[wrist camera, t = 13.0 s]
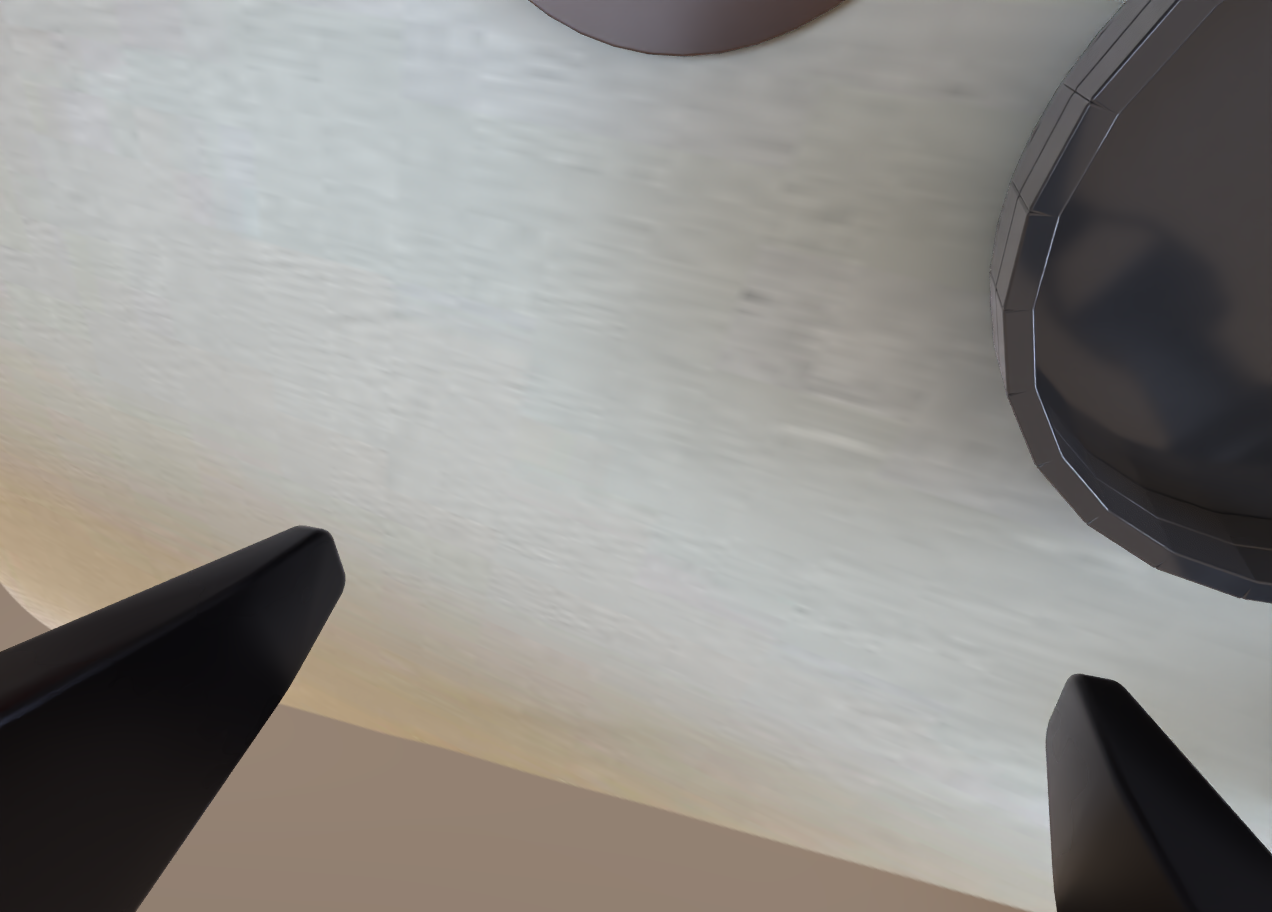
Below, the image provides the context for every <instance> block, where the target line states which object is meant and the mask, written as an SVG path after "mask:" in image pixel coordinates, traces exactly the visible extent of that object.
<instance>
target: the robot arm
mask: <svg viewBox="0 0 1272 912" xmlns="http://www.w3.org/2000/svg"><path fill="white" fill-rule="evenodd" d="M344 586H345V572H344V569H343V566H342V563H341V560H340V557H339V554H338V551H337V548H336V545H335V542H334V539H333V537H332V535H331V534H330V533H329V532H328V531H327V530H324V529H320V528H315V527H310V526H295V527H293V528H290V529H288V530H286V531H283V532H281V533H279V534H276V535H274V536H272V537H269V538H267V539H264V540H262V541H260V542H257V543H255V544H253V545H250V546H248V547H246V548H243V549H241V550H239V551H236V552H234V553H232V554H229V555H227V556H225V557H222V558H220V559H217V560H215V561H213V562H210V563H208V564H206V565H203V566H201V567H199V568H196V569H194V570H192V571H189V572H187V573H185V574H182V575H180V576H178V577H175V578H173V579H170V580H168V581H166V582H163V583H161V584H159V585H156V586H154V587H152V588H149V589H147V590H145V591H142V592H140V593H138V594H135V595H133V596H130V597H128V598H126V599H123V600H121V601H119V602H116V603H114V604H112V605H109V606H107V607H105V608H102V609H100V610H98V611H95V612H93V613H91V614H88V615H86V616H83V617H81V618H79V619H76V620H74V621H72V622H69V623H67V624H65V625H62V626H60V627H58V628H55V629H53V630H51V631H48V632H46V633H44V634H41V635H39V636H36V637H34V638H32V639H29V640H27V641H25V642H22V643H20V644H18V645H15V646H13V647H11V648H8V649H6V650H4V651H1V652H0V912H136V911H137V909H138V908H139V906H140V905H141V903H142V902H143V900H144V899H145V897H146V896H147V895H148V893H149V892H150V890H151V889H152V887H153V886H154V884H155V883H156V881H157V880H158V879H159V877H160V876H161V874H162V873H163V871H164V870H165V868H166V867H167V865H168V864H169V863H170V861H171V860H172V858H173V857H174V855H175V854H176V852H177V851H178V849H179V848H180V847H181V845H182V844H183V842H184V841H185V839H186V838H187V836H188V835H189V833H190V832H191V830H192V829H193V828H194V826H195V825H196V823H197V822H198V820H199V819H200V817H201V816H202V815H203V813H204V812H205V810H206V809H207V807H208V806H209V804H210V803H211V801H212V800H213V799H214V797H215V796H216V794H217V793H218V791H219V790H220V788H221V787H222V785H223V784H224V782H225V781H226V780H227V778H228V777H229V775H230V774H231V772H232V771H233V769H234V768H235V766H236V765H237V763H238V762H239V761H240V759H241V758H242V756H243V755H244V753H245V752H246V750H247V749H248V748H249V746H250V745H251V743H252V742H253V740H254V739H255V737H256V736H257V734H258V733H259V732H260V730H261V729H262V727H263V726H264V724H265V723H266V721H267V720H268V718H269V717H270V716H271V714H272V713H273V711H274V709H275V708H276V707H277V705H278V704H279V702H280V701H281V699H282V698H283V696H284V695H285V693H286V692H287V690H288V688H289V687H290V685H291V683H292V682H293V680H294V678H295V677H296V675H297V673H298V671H299V670H300V668H301V666H302V664H303V662H304V661H305V659H306V657H307V655H308V653H309V652H310V650H311V648H312V646H313V644H314V643H315V641H316V639H317V637H318V635H319V634H320V632H321V630H322V628H323V626H324V625H325V623H326V621H327V619H328V617H329V616H330V614H331V612H332V610H333V608H334V607H335V605H336V603H337V601H338V599H339V598H340V596H341V594H342V592H343V589H344ZM1046 761H1047V779H1048V797H1049V815H1050V834H1051V852H1052V869H1053V882H1054V893H1055V900H1056V907H1057V912H1272V854H1271V853H1270V851H1269V850H1268V849H1267V848H1266V847H1265V846H1264V845H1263V844H1262V842H1261V841H1260V840H1259V839H1258V838H1257V837H1256V836H1255V835H1254V833H1253V832H1252V831H1251V830H1250V829H1249V828H1248V827H1247V825H1246V824H1245V823H1244V822H1243V821H1242V820H1241V819H1240V818H1239V816H1238V815H1237V814H1236V813H1235V812H1234V811H1233V810H1232V809H1231V807H1230V806H1229V805H1228V804H1227V803H1226V802H1225V801H1224V799H1223V798H1222V797H1221V796H1220V795H1219V794H1218V793H1217V792H1216V790H1215V789H1214V788H1213V787H1212V786H1211V785H1210V784H1209V783H1208V781H1207V780H1206V779H1205V778H1204V777H1203V776H1202V775H1201V773H1200V772H1199V771H1198V770H1197V769H1196V768H1195V767H1194V766H1193V764H1192V763H1191V762H1190V761H1189V760H1188V759H1187V758H1186V757H1185V755H1184V754H1183V753H1182V752H1181V751H1180V750H1179V749H1178V747H1177V746H1176V745H1175V744H1174V743H1173V742H1172V741H1171V740H1170V738H1169V737H1168V736H1167V735H1166V734H1165V733H1164V732H1163V731H1162V729H1161V728H1160V727H1159V726H1158V725H1157V724H1156V723H1155V721H1154V720H1153V719H1152V718H1151V717H1150V716H1149V715H1148V714H1147V712H1146V711H1145V710H1144V709H1143V708H1142V707H1141V706H1140V705H1139V703H1138V702H1137V701H1136V700H1135V699H1134V698H1133V697H1132V696H1131V694H1130V693H1129V692H1128V691H1127V690H1126V689H1125V688H1124V687H1123V686H1122V685H1121V684H1119V683H1118V682H1116V681H1114V680H1110V679H1105V678H1100V677H1095V676H1089V675H1084V674H1074V675H1072V676H1071V677H1069V679H1068V680H1067V682H1066V684H1065V686H1064V688H1063V690H1062V693H1061V695H1060V697H1059V700H1058V702H1057V704H1056V707H1055V709H1054V711H1053V714H1052V716H1051V718H1050V720H1049V723H1048V727H1047V732H1046Z"/></svg>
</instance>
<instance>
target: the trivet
mask: <svg viewBox="0 0 1272 912" xmlns="http://www.w3.org/2000/svg"><path fill="white" fill-rule="evenodd" d="M529 1H530V2H531V3H533V4H534V5H535V6H537V7H538V8H539V9H540V10H542V11H543V12H544V13H546V14H547V15H548V16H550V17H552V18H554V19H555V20H557V21H559V22H561V23H562V24H564V25H566V26H568V27H570V28H571V29H573V30H575V31H577V32H578V33H580V34H583V35H585V36H588V37H590V38H593V39H596V40H598V41H601V42H603V43H606V44H609V45H611V46H614V47H618V48H623V49H627V50H632V51H636V52H641V53H645V54H653V55H669V56H695V55H706V54H717V53H724V52H728V51H732V50H736V49H740V48H744V47H749V46H753V45H757V44H760V43H763V42H765V41H768V40H770V39H773V38H775V37H778V36H780V35H783V34H785V33H788V32H790V31H793V30H795V29H797V28H799V27H801V26H803V25H804V24H806V23H808V22H810V21H812V20H813V19H815V18H817V17H819V16H820V15H822V14H824V13H826V12H828V11H829V10H831V9H833V8H835V7H836V6H838V5H839V4H840V3H842V2H843V1H844V0H529Z"/></svg>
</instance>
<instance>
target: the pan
mask: <svg viewBox="0 0 1272 912" xmlns="http://www.w3.org/2000/svg"><path fill="white" fill-rule="evenodd" d="M990 269H991V270H990V306H991V313H992V323H993V340H994V347H995V352H996V355H997V359H998V363H999V367H1000V371H1001V375H1002V379H1003V382H1004V386H1005V390H1006V394H1007V397H1008V400H1009V402H1010V405H1011V407H1012V410H1013V412H1014V415H1015V417H1016V420H1017V422H1018V424H1019V427H1020V429H1021V432H1022V434H1023V437H1024V439H1025V442H1026V444H1027V447H1028V449H1029V452H1030V454H1031V456H1032V459H1033V461H1034V464H1035V465H1036V466H1037V468H1038V469H1039V470H1040V472H1041V473H1042V474H1043V475H1044V476H1045V477H1046V479H1047V480H1048V481H1049V482H1050V483H1051V484H1052V485H1053V487H1054V488H1055V489H1056V490H1057V491H1058V492H1059V494H1060V495H1061V496H1062V497H1063V498H1064V499H1065V500H1066V502H1067V503H1068V504H1069V505H1070V506H1071V507H1072V509H1073V510H1074V511H1075V512H1076V513H1077V514H1078V515H1079V517H1080V518H1081V519H1082V520H1083V521H1084V522H1085V523H1086V524H1087V525H1088V526H1090V527H1091V528H1093V529H1095V530H1096V531H1098V532H1099V533H1101V534H1102V535H1104V536H1105V537H1107V538H1109V539H1110V540H1112V541H1113V542H1115V543H1116V544H1118V545H1119V546H1121V547H1123V548H1124V549H1126V550H1127V551H1129V552H1130V553H1132V554H1133V555H1135V556H1137V557H1138V558H1140V559H1141V560H1143V561H1144V562H1146V563H1147V564H1149V565H1150V566H1152V567H1154V568H1156V569H1158V570H1161V571H1164V572H1167V573H1170V574H1172V575H1175V576H1178V577H1181V578H1184V579H1186V580H1189V581H1192V582H1195V583H1198V584H1201V585H1203V586H1206V587H1209V588H1212V589H1215V590H1218V591H1220V592H1223V593H1226V594H1229V595H1232V596H1235V597H1237V598H1243V599H1246V600H1252V601H1259V602H1265V603H1272V0H1128V1H1127V2H1126V3H1125V4H1124V5H1123V6H1122V7H1121V8H1120V9H1119V10H1118V12H1117V13H1116V14H1115V15H1114V16H1113V17H1112V18H1111V19H1110V20H1109V21H1108V23H1107V24H1106V25H1105V26H1104V27H1103V28H1102V29H1101V30H1100V31H1099V32H1098V34H1097V35H1096V37H1095V38H1094V39H1093V41H1092V42H1091V43H1090V45H1089V46H1088V47H1087V49H1086V50H1085V51H1084V53H1083V54H1082V55H1081V57H1080V58H1079V59H1078V61H1077V62H1076V63H1075V65H1074V66H1073V67H1072V69H1071V70H1070V71H1069V73H1068V74H1067V76H1066V77H1065V78H1064V80H1063V81H1062V82H1061V84H1060V86H1059V87H1058V89H1057V91H1056V92H1055V94H1054V96H1053V97H1052V99H1051V101H1050V102H1049V104H1048V106H1047V108H1046V109H1045V111H1044V113H1043V114H1042V116H1041V118H1040V119H1039V121H1038V123H1037V124H1036V126H1035V128H1034V129H1033V131H1032V133H1031V136H1030V138H1029V140H1028V142H1027V145H1026V147H1025V149H1024V151H1023V154H1022V156H1021V158H1020V160H1019V162H1018V165H1017V167H1016V169H1015V171H1014V174H1013V176H1012V178H1011V181H1010V184H1009V188H1008V191H1007V194H1006V198H1005V201H1004V204H1003V208H1002V211H1001V214H1000V217H999V221H998V225H997V231H996V237H995V243H994V249H993V255H992V260H991V264H990Z"/></svg>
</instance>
